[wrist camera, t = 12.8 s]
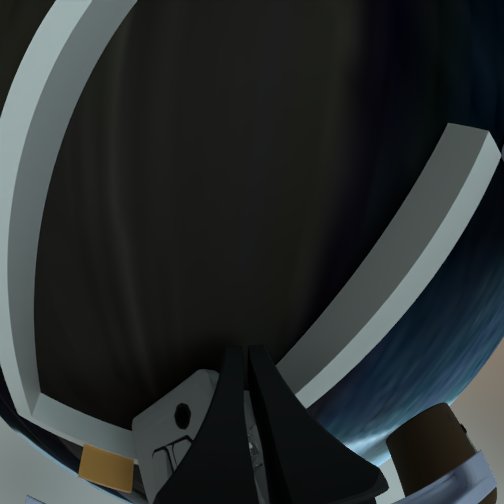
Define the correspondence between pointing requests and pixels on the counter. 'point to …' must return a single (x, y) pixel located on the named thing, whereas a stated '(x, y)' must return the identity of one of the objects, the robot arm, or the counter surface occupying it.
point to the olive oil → (431, 449)
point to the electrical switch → (184, 432)
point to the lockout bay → (318, 335)
